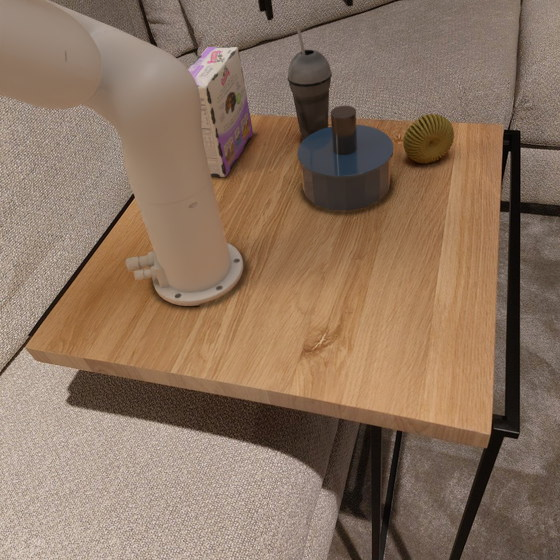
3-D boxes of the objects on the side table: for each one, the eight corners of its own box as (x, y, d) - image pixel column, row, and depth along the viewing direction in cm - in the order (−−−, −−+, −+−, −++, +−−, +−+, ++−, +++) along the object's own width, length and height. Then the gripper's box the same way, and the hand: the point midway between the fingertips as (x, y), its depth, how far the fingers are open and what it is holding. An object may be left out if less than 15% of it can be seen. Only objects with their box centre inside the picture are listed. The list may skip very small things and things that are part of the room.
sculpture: (407, 172, 93) (409, 127, 87) (399, 159, 96) (400, 115, 90) (455, 162, 93) (460, 116, 88) (445, 149, 96) (450, 104, 91)
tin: (311, 220, 87) (308, 184, 83) (297, 171, 97) (293, 137, 92) (400, 204, 87) (401, 167, 83) (376, 157, 97) (376, 122, 93)
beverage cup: (332, 149, 100) (325, 31, 86) (290, 149, 102) (277, 33, 88) (338, 127, 105) (331, 12, 91) (298, 127, 107) (286, 15, 93)
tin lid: (307, 189, 83) (302, 146, 78) (291, 139, 93) (286, 98, 88) (405, 172, 83) (407, 127, 78) (379, 123, 93) (379, 81, 88)
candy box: (224, 133, 109) (207, 44, 97) (254, 134, 107) (239, 45, 95) (194, 175, 99) (171, 83, 88) (226, 178, 98) (206, 85, 86)
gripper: (368, -184, 62) (370, -13, 74) (207, -157, 62) (235, 11, 73) (388, -176, 57) (386, 7, 68) (211, -146, 56) (240, 33, 68)
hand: (308, 9), depth 71 cm, fingers open, 9 cm apart
